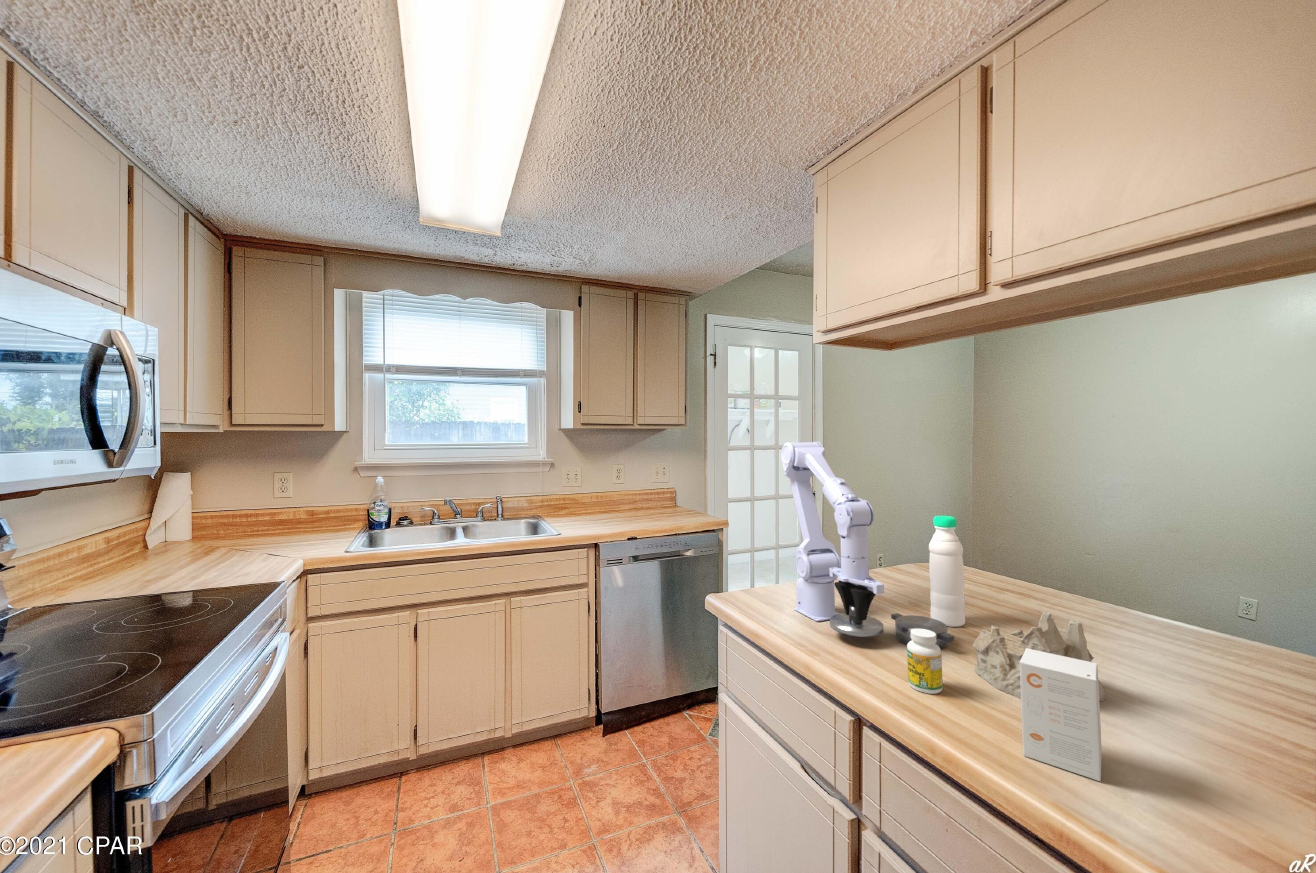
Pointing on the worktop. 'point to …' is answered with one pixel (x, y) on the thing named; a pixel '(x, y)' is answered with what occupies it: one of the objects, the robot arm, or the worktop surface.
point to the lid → (856, 624)
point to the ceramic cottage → (1006, 651)
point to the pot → (920, 622)
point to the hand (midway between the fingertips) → (855, 617)
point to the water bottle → (946, 573)
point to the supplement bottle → (924, 662)
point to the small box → (1061, 712)
